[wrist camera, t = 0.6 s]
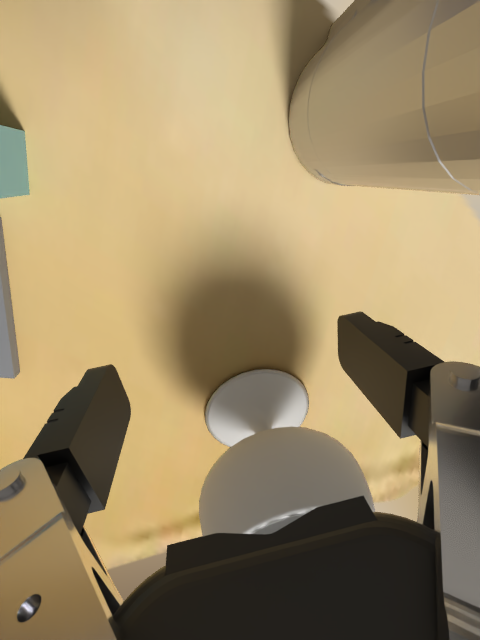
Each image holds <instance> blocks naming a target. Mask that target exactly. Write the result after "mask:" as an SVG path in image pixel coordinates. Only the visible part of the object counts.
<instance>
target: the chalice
mask: <svg viewBox="0 0 480 640" xmlns="http://www.w3.org/2000/svg"><path fill="white" fill-rule="evenodd" d="M308 407H309V398H308V393H307V391H306V389H305V387H304V386H303V384H302V383H301V382H300V381H299V380H298V379H297V378H295V377H294V376H292V375H291V374H288V373H286V372H283V371H280V370H273V369H258V370H252V371H248V372H244V373H241V374H239V375H237V376H235V377H233V378H230V379H229V380H228V381H226V382H225V383H223V384H222V385H221V386H220V387H219V388H218V389H217V390H216V391H215V392H214V393H213V395H212V396H211V398H210V400H209V402H208V403H207V407H206V411H205V422H206V425H207V428H208V430H209V432H210V433H211V434H212V436H213V437H214V438H215V439H217V440H218V441H219V442H220V443H222V444H224V445H227V446H229V447H230V448H229V449H228V450H227V451H226V452H225V453H224V454H223V455H222V456H221V457H220V458H219V459H218V460H217V461H216V463H215V464H214V465H213V467H212V468H211V470H210V472H209V473H208V475H207V477H206V479H205V481H204V484H203V487H202V491H201V495H200V500H199V517H200V523H201V529H202V535H203V536H206V535H210V534H214V533H239V534H271V533H274V532H276V531H278V530H279V529H281V528H283V527H284V526H286V525H288V524H290V523H291V522H293V521H295V520H296V519H298V518H300V517H301V516H303V515H305V514H306V513H308V512H310V511H311V510H313V509H315V508H316V507H320V506H324V505H328V504H332V503H336V502H340V501H343V500H347V499H351V498H355V497H359V496H363V495H364V497H365V499H366V501H367V503H368V505H369V506H370V508H371V510H372V512H375V509H374V504H373V499H372V496H371V493H370V490H369V487H368V484H367V481H366V479H365V477H364V474H363V472H362V470H361V468H360V466H359V464H358V462H357V461H356V459H355V458H354V456H353V455H352V453H351V452H350V451H349V450H347V449H346V448H345V447H344V446H343V445H342V444H341V443H340V442H339V441H337V440H336V439H334V438H332V437H330V436H329V435H327V434H325V433H322V432H319V431H315V430H312V429H309V428H303V427H300V425H301V424H302V422H303V421H304V419H305V417H306V415H307V412H308Z"/></svg>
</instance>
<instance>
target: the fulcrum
mask: <svg viewBox="0 0 480 640" xmlns="http://www.w3.org/2000/svg"><path fill="white" fill-rule="evenodd" d="M19 372H20V367H19V359H18V351H17V343H16V335H15V326H14V318H13V310H12V302H11V294H10V286H9V277H8V269H7V261H6V253H5V245H4V237H3V229H2V220H1V217H0V377H1V378H15V377H16V376H17V375H18V374H19Z"/></svg>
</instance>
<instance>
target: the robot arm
mask: <svg viewBox="0 0 480 640" xmlns="http://www.w3.org/2000/svg"><path fill="white" fill-rule="evenodd" d="M289 129H290V138H291V142H292V145H293V148H294V152H295V153H296V155H297V157H298V159H299V161H300V163H301V164H302V165H303V167H304V168H305V169H306V170H307V171H308V172H309V173H310V174H311V175H313V176H314V177H315V178H317V179H319V180H321V181H324V182H326V183H331V184H337V185H342V186H363V187H377V188H391V189H404V190H418V191H431V192H445V193H459V194H472V195H480V0H355V1H354V2H353V3H352V4H351V5H350V6H349V7H348V8H347V10H346V11H345V12H344V13H343V14H342V15H341V16H340V17H339V18H338V19H337V20H336V21H335V22H334V23H333V24H332V26H331V28H330V32H329V35H328V38H327V41H326V43H325V45H324V46H323V47H322V48H321V49H320V50H319V51H318V52H317V53H316V54H315V55H314V56H313V57H312V59H311V60H310V61H309V62H308V64H307V65H306V67H305V68H304V70H303V71H302V73H301V74H300V77H299V79H298V81H297V84H296V86H295V88H294V91H293V96H292V100H291V104H290V112H289ZM338 356H339V361H340V364H341V366H342V368H343V370H344V371H345V372H346V373H347V375H348V376H349V377H350V378H351V379H352V381H353V382H354V383H355V384H356V385H357V387H358V388H359V389H360V390H361V391H362V393H363V394H364V395H365V396H366V397H367V399H368V400H369V401H370V402H371V404H372V405H373V406H374V407H375V408H376V410H377V411H378V412H379V413H380V414H381V416H382V417H383V418H384V419H385V420H386V422H387V423H388V424H389V425H390V427H391V428H392V429H393V430H394V431H395V433H396V434H397V435H398V436H399V437H400V438H404V437H408V436H412V435H417V436H418V437H419V439H420V440H421V441H420V448H419V505H418V520H417V522H415V521H413V520H410V519H407V518H404V517H401V516H397V515H393V514H387V513H381V512H372V510H371V508H370V506H369V505H368V503H367V501H366V499H365V497H364V495H363V496H359V497H355V498H351V499H347V500H343V501H340V502H336V503H332V504H328V505H324V506H320V507H316V508H315V509H313V510H311V511H310V512H308V513H306V514H305V515H303V516H301V517H300V518H298V519H296V520H295V521H293V522H291V523H290V524H288V525H286V526H284V527H283V528H281V529H279V530H278V531H276V532H274V533H271V534H239V533H214V534H210V535H206V536H202V537H198V538H195V539H191V540H187V541H183V542H179V543H175V544H171V545H167V557H166V566H164V567H162V568H161V569H159V570H158V571H156V572H155V573H154V574H152V575H151V576H149V577H148V578H147V579H146V580H145V581H144V582H142V583H141V584H140V585H139V586H138V587H137V588H136V589H135V590H134V591H133V592H132V593H131V594H130V595H129V597H127V599H126V600H125V601H123V599H122V597H121V596H120V594H119V592H118V590H117V589H116V587H115V585H114V583H113V581H112V579H111V577H110V576H109V573H108V571H107V569H106V567H105V565H104V563H103V561H102V559H101V557H100V555H99V553H98V551H97V549H96V547H95V545H94V543H93V541H92V539H91V537H90V535H89V533H88V532H87V530H86V528H85V527H84V522H85V519H86V516H87V514H88V513H92V512H96V511H100V510H104V509H105V506H106V503H107V499H108V496H109V492H110V488H111V485H112V481H113V478H114V474H115V470H116V467H117V463H118V460H119V456H120V453H121V449H122V445H123V442H124V438H125V435H126V431H127V427H128V424H129V420H130V415H131V408H130V402H129V399H128V397H127V394H126V392H125V390H124V387H123V385H122V382H121V380H120V378H119V375H118V373H117V370H116V368H115V367H114V366H113V365H106V366H101V367H97V368H92V369H88V370H87V371H86V373H85V374H84V376H83V378H82V380H81V381H80V383H79V385H78V386H77V387H74V388H72V389H71V390H70V391H69V392H68V393H67V394H66V395H65V396H64V397H63V398H61V400H60V401H59V403H58V405H57V406H56V408H55V409H54V413H52V414H51V416H50V417H49V419H48V420H47V423H46V424H45V425H44V427H43V428H42V430H41V431H40V433H39V435H38V436H37V438H36V439H35V441H34V443H33V444H32V446H31V447H30V449H29V450H28V452H27V454H26V455H25V457H24V458H23V459H21V460H19V461H16V462H14V463H11V464H9V465H8V466H6V467H4V468H2V469H1V470H0V640H480V367H479V366H476V365H473V364H468V363H463V362H444V361H442V360H441V359H439V358H438V357H437V356H435V355H434V354H432V353H431V352H429V351H428V350H426V349H425V348H424V347H422V346H421V345H419V344H418V343H416V342H413V340H412V339H411V338H409V337H408V336H404V334H403V333H402V332H400V331H399V330H397V329H396V328H395V327H393V326H390V325H387V324H384V323H381V322H375V321H374V320H372V319H371V318H370V317H368V316H367V315H366V314H364V313H363V312H356V313H351V314H347V315H342V316H339V318H338Z"/></svg>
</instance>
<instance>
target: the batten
mask: <svg viewBox="0 0 480 640" xmlns="http://www.w3.org/2000/svg"><path fill="white" fill-rule="evenodd" d="M22 195H30V194H29V181H28V168H27V155H26V142H25V131H22V130H18V129H14V128H10V127H6V126H2V125H0V198H7V197H15V196H22Z"/></svg>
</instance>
